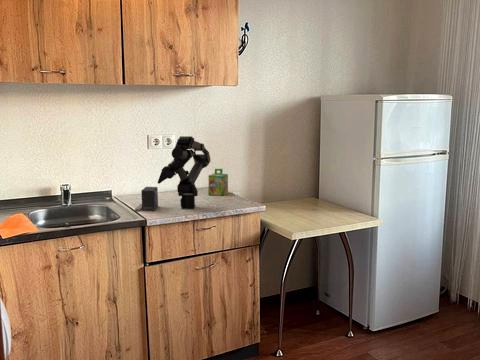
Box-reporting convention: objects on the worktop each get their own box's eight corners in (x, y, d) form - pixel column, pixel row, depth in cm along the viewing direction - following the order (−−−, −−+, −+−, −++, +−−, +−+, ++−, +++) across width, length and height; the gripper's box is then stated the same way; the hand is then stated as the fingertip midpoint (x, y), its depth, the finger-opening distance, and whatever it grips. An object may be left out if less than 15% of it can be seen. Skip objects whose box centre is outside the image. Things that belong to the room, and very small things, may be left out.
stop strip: (145, 206, 241) (145, 203, 241) (139, 211, 230) (139, 209, 229) (140, 206, 241) (140, 203, 241) (134, 211, 230) (134, 209, 229)
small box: (154, 211, 230) (153, 190, 228) (141, 211, 230) (140, 190, 228) (158, 206, 240) (158, 186, 239) (146, 206, 241) (145, 186, 239)
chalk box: (208, 195, 267) (207, 169, 264) (213, 192, 276) (213, 167, 273) (223, 196, 264) (223, 170, 262) (228, 193, 273) (228, 168, 270)
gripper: (190, 173, 222) (167, 196, 224) (195, 168, 240) (175, 190, 242) (173, 157, 221) (151, 180, 223) (180, 153, 239) (159, 175, 242)
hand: (159, 182), depth 233 cm, fingers open, 8 cm apart
